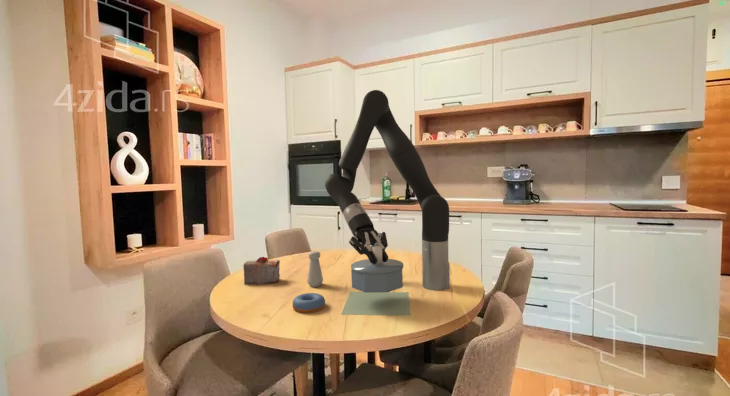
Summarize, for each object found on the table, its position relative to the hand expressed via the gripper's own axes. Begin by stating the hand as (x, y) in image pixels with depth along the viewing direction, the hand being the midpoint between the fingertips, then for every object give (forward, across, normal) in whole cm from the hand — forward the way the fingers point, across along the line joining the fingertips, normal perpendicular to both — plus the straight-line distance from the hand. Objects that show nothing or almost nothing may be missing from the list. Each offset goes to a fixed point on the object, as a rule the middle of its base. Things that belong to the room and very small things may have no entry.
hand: (380, 261), depth 107 cm
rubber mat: (+8, 0, +11) cm, 14 cm away
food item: (-25, -22, +44) cm, 55 cm away
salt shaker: (-12, -8, +31) cm, 34 cm away
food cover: (+4, 0, +7) cm, 8 cm away
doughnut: (+1, -19, +18) cm, 27 cm away
